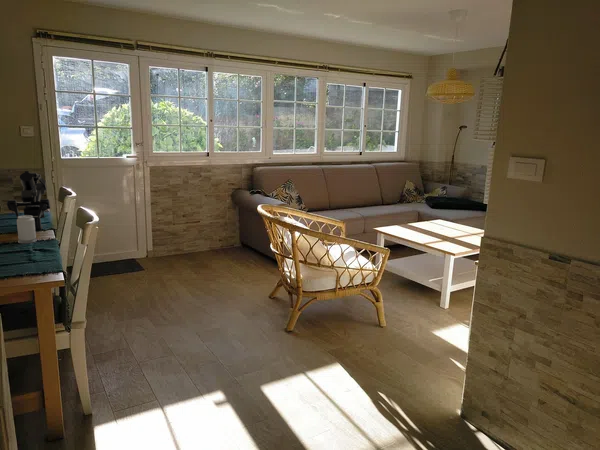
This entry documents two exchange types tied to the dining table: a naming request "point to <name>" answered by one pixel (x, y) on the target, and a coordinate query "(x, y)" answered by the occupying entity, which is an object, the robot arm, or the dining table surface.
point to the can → (26, 228)
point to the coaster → (27, 241)
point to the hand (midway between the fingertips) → (28, 218)
